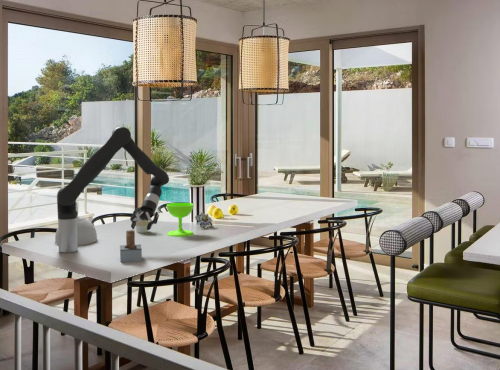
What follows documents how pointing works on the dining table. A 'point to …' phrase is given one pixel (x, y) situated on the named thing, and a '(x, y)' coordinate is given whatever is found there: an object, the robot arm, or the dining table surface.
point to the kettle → (83, 231)
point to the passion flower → (204, 220)
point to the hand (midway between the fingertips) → (140, 228)
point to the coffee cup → (141, 224)
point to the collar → (130, 253)
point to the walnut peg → (130, 239)
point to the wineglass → (180, 217)
